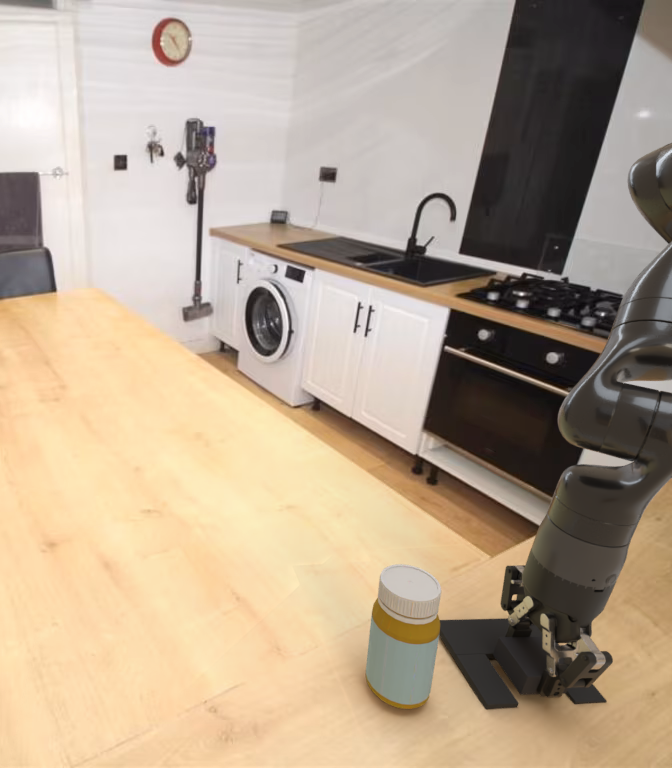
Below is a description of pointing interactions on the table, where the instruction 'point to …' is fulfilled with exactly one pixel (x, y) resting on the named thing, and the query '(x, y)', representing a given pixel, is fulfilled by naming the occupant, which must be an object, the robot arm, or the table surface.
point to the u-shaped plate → (472, 653)
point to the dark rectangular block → (522, 661)
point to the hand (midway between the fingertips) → (529, 670)
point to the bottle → (404, 636)
